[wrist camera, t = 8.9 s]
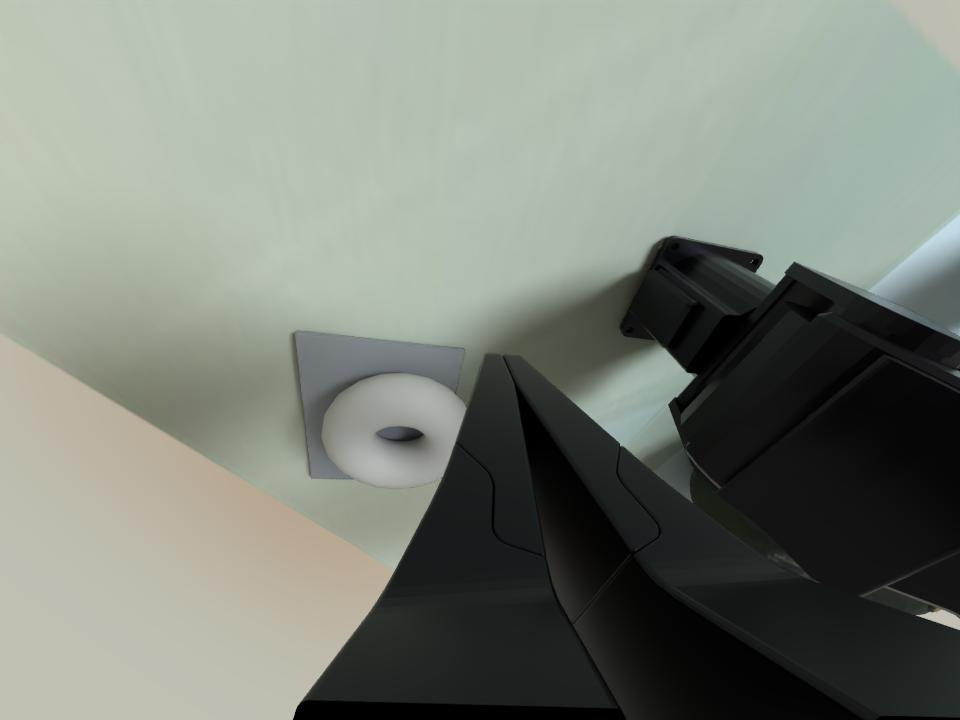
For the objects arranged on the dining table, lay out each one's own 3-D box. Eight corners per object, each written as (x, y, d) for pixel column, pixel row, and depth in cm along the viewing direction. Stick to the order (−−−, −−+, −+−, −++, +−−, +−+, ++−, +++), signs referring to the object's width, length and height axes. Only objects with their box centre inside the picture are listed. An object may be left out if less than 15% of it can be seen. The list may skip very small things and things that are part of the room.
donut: (407, 514, 27) (282, 461, 22) (409, 475, 30) (299, 421, 25) (506, 448, 23) (384, 368, 18) (498, 411, 26) (391, 333, 21)
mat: (463, 348, 23) (464, 352, 23) (434, 477, 31) (435, 481, 31) (297, 330, 21) (294, 334, 20) (312, 474, 29) (311, 478, 28)
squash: (728, 565, 37) (971, 678, 24) (641, 529, 31) (900, 655, 18) (758, 437, 40) (989, 474, 27) (684, 382, 34) (934, 394, 21)
